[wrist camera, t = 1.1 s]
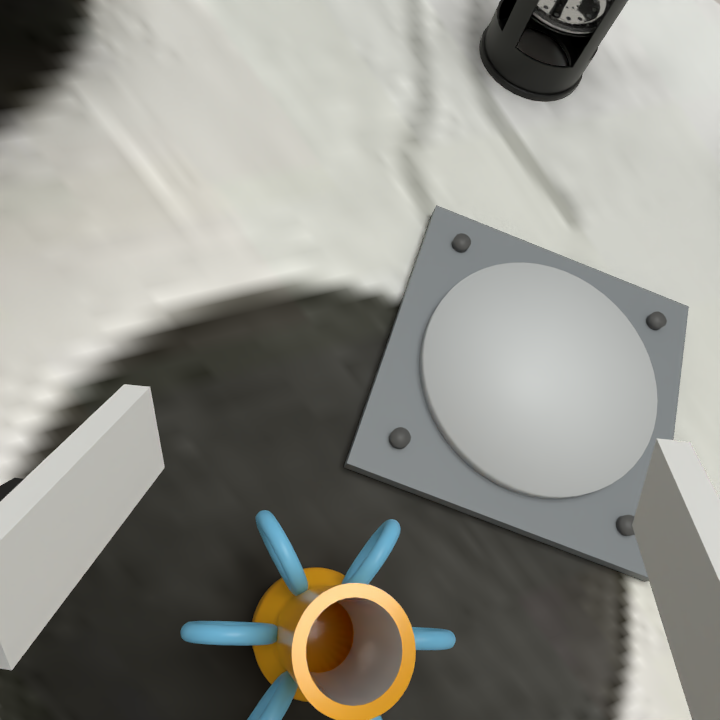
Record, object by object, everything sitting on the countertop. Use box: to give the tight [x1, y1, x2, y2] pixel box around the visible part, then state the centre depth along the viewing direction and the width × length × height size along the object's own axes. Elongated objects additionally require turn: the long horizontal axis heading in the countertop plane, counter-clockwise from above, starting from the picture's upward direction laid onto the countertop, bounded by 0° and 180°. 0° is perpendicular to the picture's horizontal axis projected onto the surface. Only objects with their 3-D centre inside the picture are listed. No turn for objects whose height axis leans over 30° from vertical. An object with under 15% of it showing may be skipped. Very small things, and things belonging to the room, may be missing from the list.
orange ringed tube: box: [181, 510, 455, 720], centre depth 26 cm, size 12×10×15 cm
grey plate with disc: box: [344, 205, 689, 581], centre depth 40 cm, size 20×20×2 cm
